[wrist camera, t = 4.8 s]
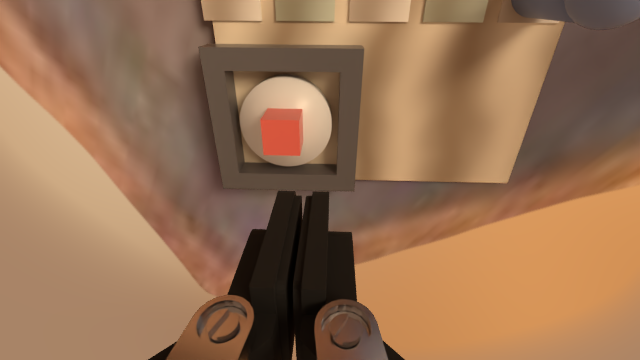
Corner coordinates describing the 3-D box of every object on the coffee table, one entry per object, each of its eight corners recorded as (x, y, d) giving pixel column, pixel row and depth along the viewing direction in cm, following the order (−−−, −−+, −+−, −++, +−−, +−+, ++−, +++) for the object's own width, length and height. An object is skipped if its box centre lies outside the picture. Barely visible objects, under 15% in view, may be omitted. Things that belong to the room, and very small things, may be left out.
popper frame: (361, 45, 22) (364, 48, 20) (352, 179, 27) (354, 191, 26) (208, 43, 22) (198, 47, 20) (230, 176, 28) (223, 188, 26)
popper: (332, 74, 23) (333, 87, 19) (330, 159, 26) (330, 183, 23) (239, 73, 23) (222, 85, 19) (249, 158, 26) (236, 181, 23)
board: (599, -101, 18) (612, -107, 17) (502, 178, 28) (508, 184, 27) (190, -100, 19) (183, -105, 18) (232, 172, 28) (229, 177, 27)
